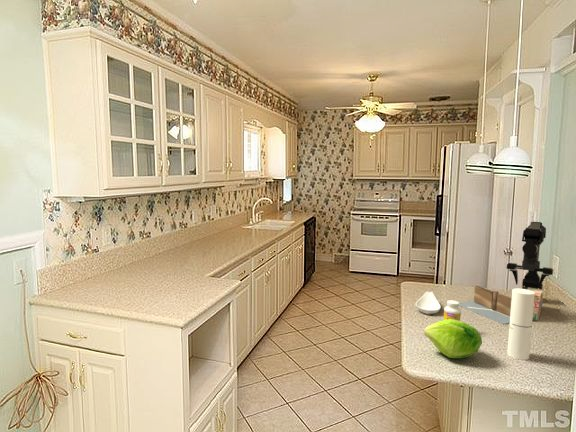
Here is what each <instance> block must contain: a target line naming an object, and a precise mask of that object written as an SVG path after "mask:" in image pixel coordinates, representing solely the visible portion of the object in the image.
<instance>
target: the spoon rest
mask: <svg viewBox="0 0 576 432" xmlns="http://www.w3.org/2000/svg"><path fill="white" fill-rule="evenodd" d="M415 307H416V309H417V310H418V311H419V312H421V313H422V314H425V315H434V314H437V313H439V311H440V310H441V308H442V307H441V304H440V302H439V301H438V299H437V297H436V296H435V294H434V291H428V290H427V291H425V292H424V293H423V295H422V296H420V297H419V298H418V300H417V301H416V302H415Z"/></svg>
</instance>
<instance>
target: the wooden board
mask: <svg viewBox="0 0 576 432" xmlns="http://www.w3.org/2000/svg"><path fill="white" fill-rule="evenodd" d="M493 291H494V290H491V289H487V288H484V287H481V286H478V285H474V293H473V294H474V298H473V301H474V302H476V303H479V304H481V305H484V306H486V307H489V308H492V301H493Z"/></svg>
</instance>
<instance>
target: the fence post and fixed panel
mask: <svg viewBox="0 0 576 432" xmlns="http://www.w3.org/2000/svg"><path fill="white" fill-rule="evenodd" d="M492 291H493V301H492V310H493V311H496V312H499V313H501V314H504V315H506V316H509V317H510V313H511V300H512V297H510V296H508V295H504V294H502V293H499V291H495V290H492Z"/></svg>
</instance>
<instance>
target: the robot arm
mask: <svg viewBox="0 0 576 432" xmlns="http://www.w3.org/2000/svg"><path fill="white" fill-rule="evenodd" d="M546 236H547V227H545V226H544V225H543V222H540V221H530V224H529V225H528V226H527V227H525V229H523V233H522V238H521V242H523V243H524V242H525V243H524V244H523V245H522V248H521V249H522V252H523V258H522V259H523V260H522V263H521V265H520V264H518V263H516V262H508V263H506V269H507V270H509V272H511V273H512V275H513V277H514V278H513V279H514V281H515V285H516V286H517V285H518V283H519V277H518V270H524V271H527V273H526V274H525V275H524V277H523V278H522V282H521V283H522V284H521V285H522V286H521V289H528V287H529V288H535V289H542V290H543V284H544V283H543V282H544V280H545V279H546V277H549V276H551V275H552V276H553V275H554V269H553V268H552V267H548V266H547V267H546V266H543V267H541V261H540V260H539V257H540V249H541V248H540V247H541V245H542V243H544V241H545V239H546ZM539 273H541V274H540V275H539Z"/></svg>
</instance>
